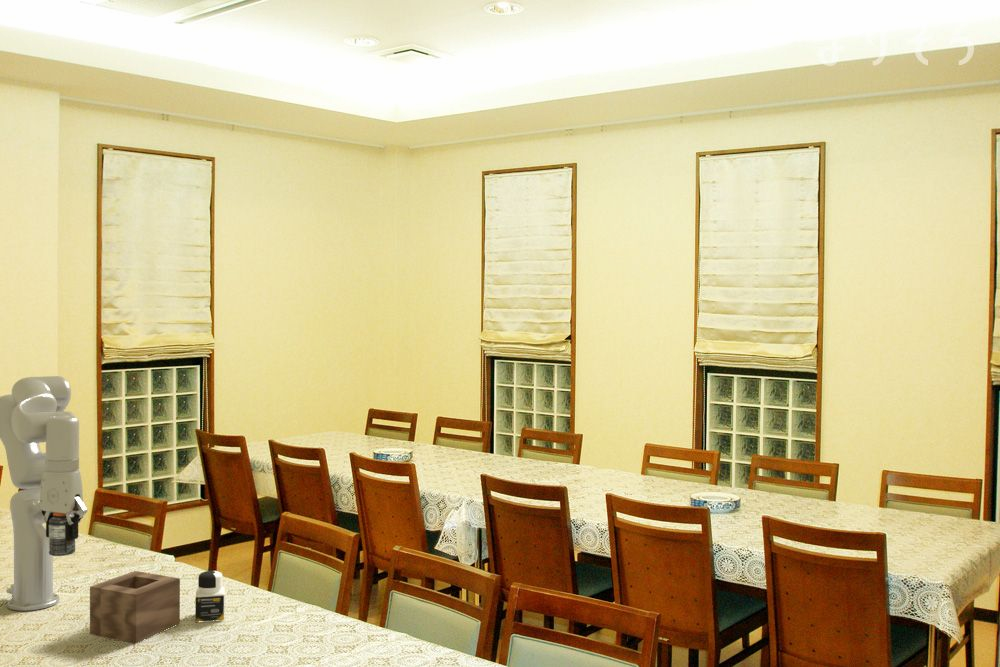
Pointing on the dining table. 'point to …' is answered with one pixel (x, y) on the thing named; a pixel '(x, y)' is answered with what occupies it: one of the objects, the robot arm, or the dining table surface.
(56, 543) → the pill bottle
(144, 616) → the wooden box holder
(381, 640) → the dining table surface
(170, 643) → the dining table surface
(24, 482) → the robot arm
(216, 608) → the medicine bottle
